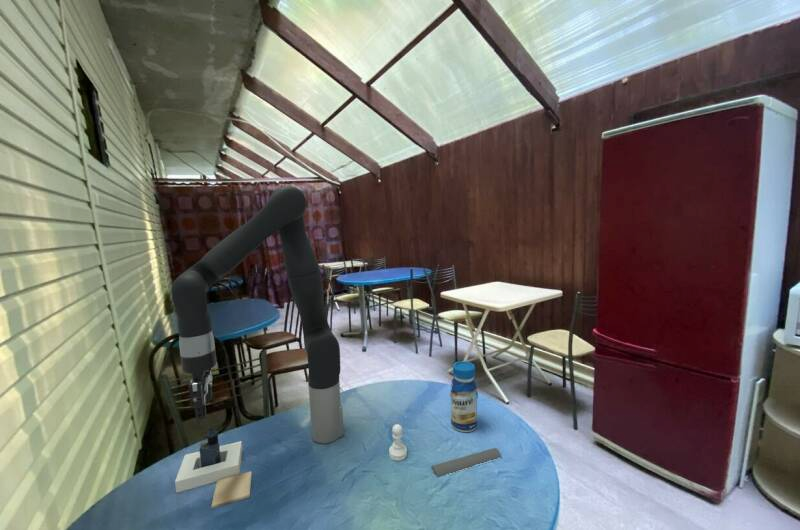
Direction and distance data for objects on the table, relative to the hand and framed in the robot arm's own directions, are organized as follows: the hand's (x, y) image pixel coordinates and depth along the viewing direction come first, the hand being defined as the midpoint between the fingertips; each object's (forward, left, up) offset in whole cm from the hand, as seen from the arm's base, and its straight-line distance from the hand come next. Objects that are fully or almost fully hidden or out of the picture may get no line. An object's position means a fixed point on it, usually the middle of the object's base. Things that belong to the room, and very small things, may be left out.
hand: (204, 409), depth 84 cm
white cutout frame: (0, 0, -18) cm, 18 cm away
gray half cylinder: (-64, +24, -18) cm, 71 cm away
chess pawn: (-48, +14, -18) cm, 53 cm away
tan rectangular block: (-6, +9, -18) cm, 21 cm away
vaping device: (0, 0, -18) cm, 18 cm away
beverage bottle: (-72, +10, -18) cm, 75 cm away
